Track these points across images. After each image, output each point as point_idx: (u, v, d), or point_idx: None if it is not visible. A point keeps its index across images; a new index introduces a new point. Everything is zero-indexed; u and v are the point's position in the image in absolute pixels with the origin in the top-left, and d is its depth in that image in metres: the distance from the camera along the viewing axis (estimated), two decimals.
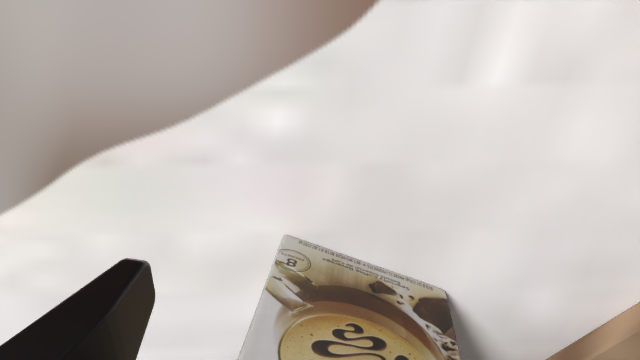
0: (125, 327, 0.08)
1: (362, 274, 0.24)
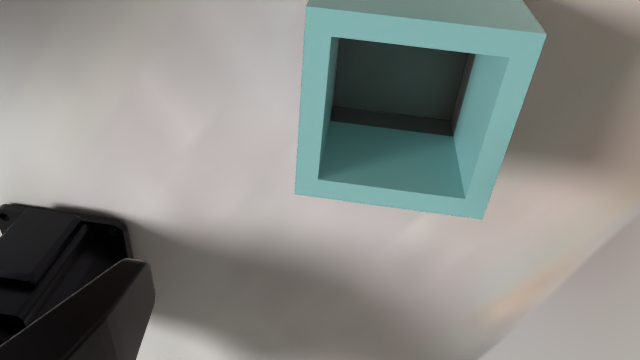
0: (125, 327, 0.08)
1: None
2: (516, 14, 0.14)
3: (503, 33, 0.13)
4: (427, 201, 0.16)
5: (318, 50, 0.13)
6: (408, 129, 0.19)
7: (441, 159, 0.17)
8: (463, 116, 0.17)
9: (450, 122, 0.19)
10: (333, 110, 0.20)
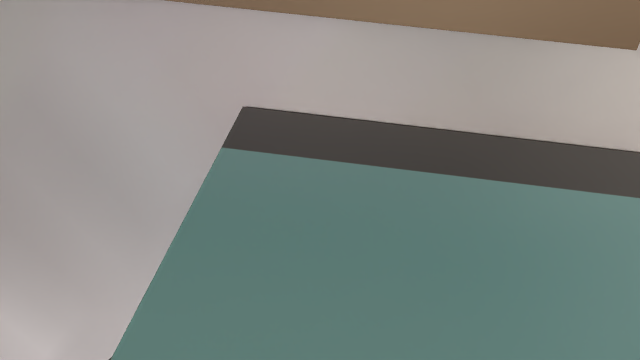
0: None
1: None
2: None
3: None
4: None
5: None
6: None
7: None
8: None
9: None
10: None
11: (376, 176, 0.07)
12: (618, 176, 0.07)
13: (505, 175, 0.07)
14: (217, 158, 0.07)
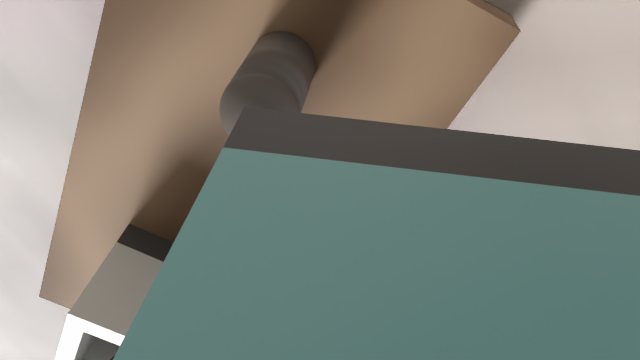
0: None
1: None
2: None
3: None
4: None
5: None
6: None
7: None
8: None
9: None
10: None
11: (378, 175, 0.06)
12: (621, 174, 0.07)
13: (507, 174, 0.07)
14: (219, 158, 0.07)
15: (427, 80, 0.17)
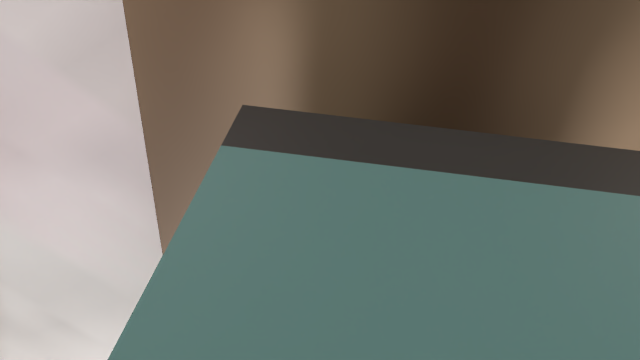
0: None
1: None
2: None
3: None
4: None
5: None
6: None
7: None
8: None
9: None
10: None
11: (377, 174, 0.06)
12: (620, 174, 0.07)
13: (506, 173, 0.07)
14: (217, 156, 0.07)
15: (631, 137, 0.10)
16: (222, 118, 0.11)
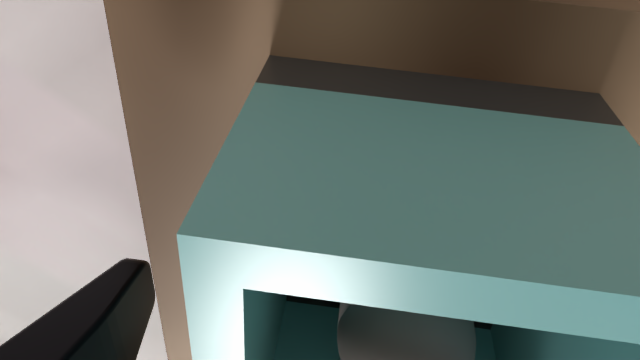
0: (125, 327, 0.08)
1: None
2: None
3: None
4: None
5: (218, 309, 0.06)
6: None
7: None
8: None
9: None
10: None
11: (381, 103, 0.08)
12: (577, 108, 0.08)
13: (485, 105, 0.08)
14: (253, 89, 0.08)
15: None
16: (213, 138, 0.11)
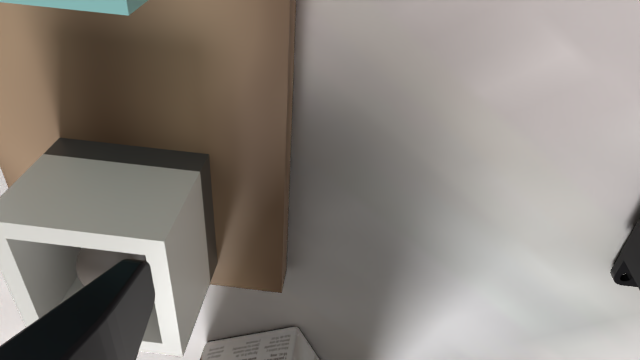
0: (125, 327, 0.08)
1: None
2: None
3: None
4: None
5: None
6: None
7: None
8: None
9: None
10: None
11: None
12: None
13: None
14: None
15: None
16: None
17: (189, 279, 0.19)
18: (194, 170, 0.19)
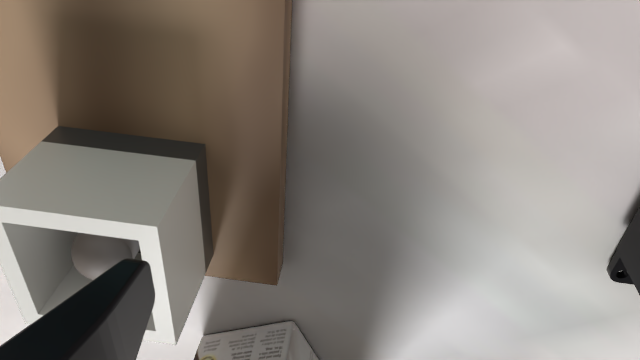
0: (125, 327, 0.08)
1: None
2: None
3: None
4: None
5: None
6: None
7: None
8: None
9: None
10: None
11: None
12: None
13: None
14: None
15: None
16: None
17: (183, 267, 0.19)
18: (190, 159, 0.19)
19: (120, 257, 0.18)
